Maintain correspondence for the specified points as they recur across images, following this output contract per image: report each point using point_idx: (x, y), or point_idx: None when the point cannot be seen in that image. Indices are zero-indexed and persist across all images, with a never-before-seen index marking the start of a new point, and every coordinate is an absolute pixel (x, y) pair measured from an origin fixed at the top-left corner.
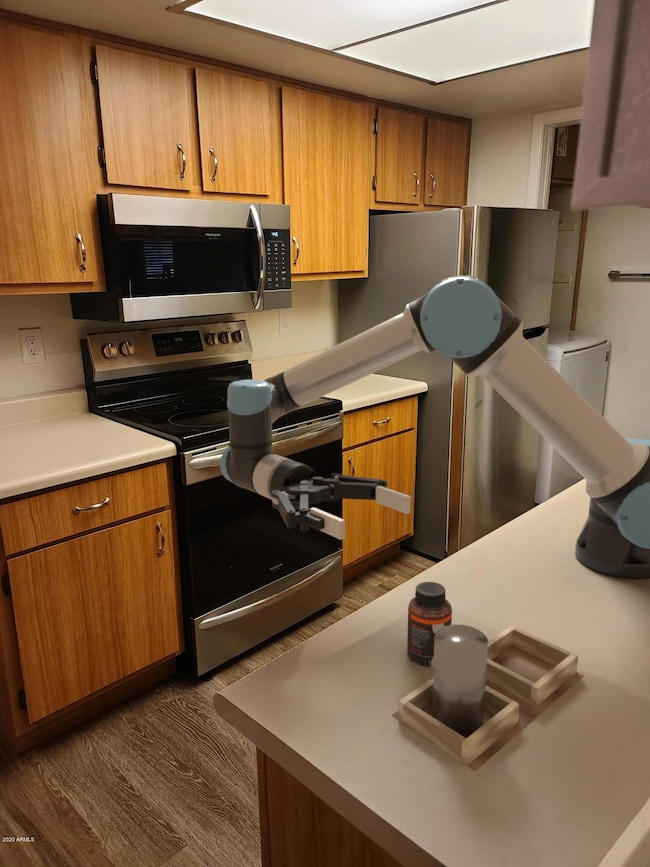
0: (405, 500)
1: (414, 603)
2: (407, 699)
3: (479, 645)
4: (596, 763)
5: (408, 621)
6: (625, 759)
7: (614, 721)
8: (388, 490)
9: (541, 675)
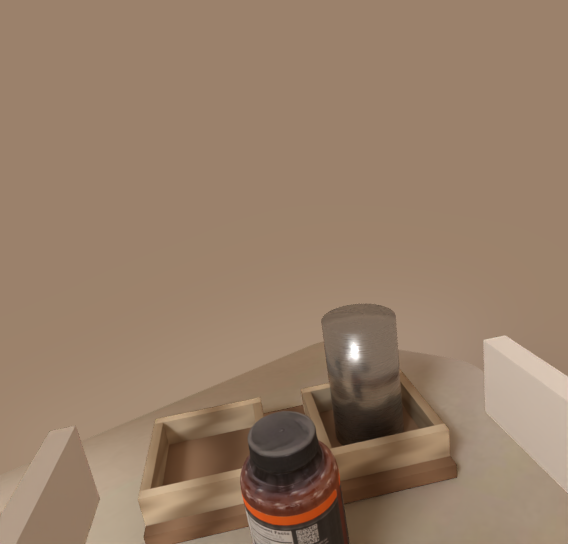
0: (78, 450)
1: (321, 466)
2: (433, 428)
3: (345, 309)
4: (276, 381)
5: (338, 511)
6: (250, 378)
7: (207, 403)
8: (15, 535)
9: (202, 451)
